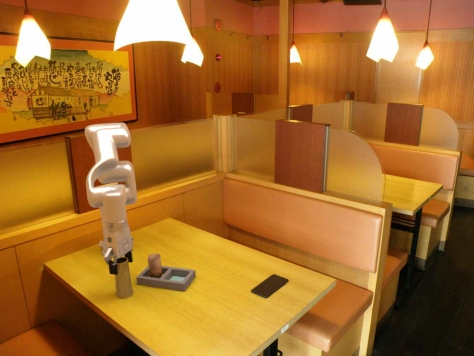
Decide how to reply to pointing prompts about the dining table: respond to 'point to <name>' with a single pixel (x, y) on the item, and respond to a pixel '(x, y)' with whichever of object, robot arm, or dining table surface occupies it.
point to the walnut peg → (154, 266)
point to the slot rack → (174, 283)
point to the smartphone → (269, 286)
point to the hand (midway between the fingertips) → (121, 267)
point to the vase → (123, 279)
